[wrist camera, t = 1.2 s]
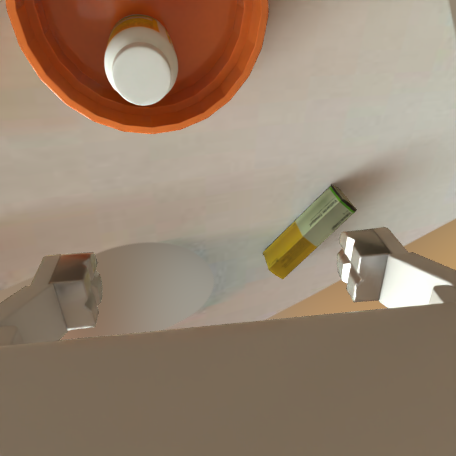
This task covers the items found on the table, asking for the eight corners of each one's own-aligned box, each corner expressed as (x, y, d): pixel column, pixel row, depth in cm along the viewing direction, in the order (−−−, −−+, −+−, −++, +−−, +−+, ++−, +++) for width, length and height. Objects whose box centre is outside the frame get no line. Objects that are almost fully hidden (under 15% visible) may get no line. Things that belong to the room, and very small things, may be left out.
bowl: (32, 97, 38) (18, 122, 33) (10, -177, 28) (-16, -199, 23) (230, 118, 42) (243, 142, 37) (271, -112, 32) (295, -120, 28)
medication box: (331, 181, 49) (343, 196, 45) (346, 194, 50) (359, 210, 46) (260, 252, 53) (267, 271, 49) (276, 262, 54) (283, 282, 50)
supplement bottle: (184, 45, 37) (198, 75, 29) (145, 91, 39) (149, 130, 31) (134, -3, 34) (135, 16, 27) (95, 48, 36) (85, 80, 28)
